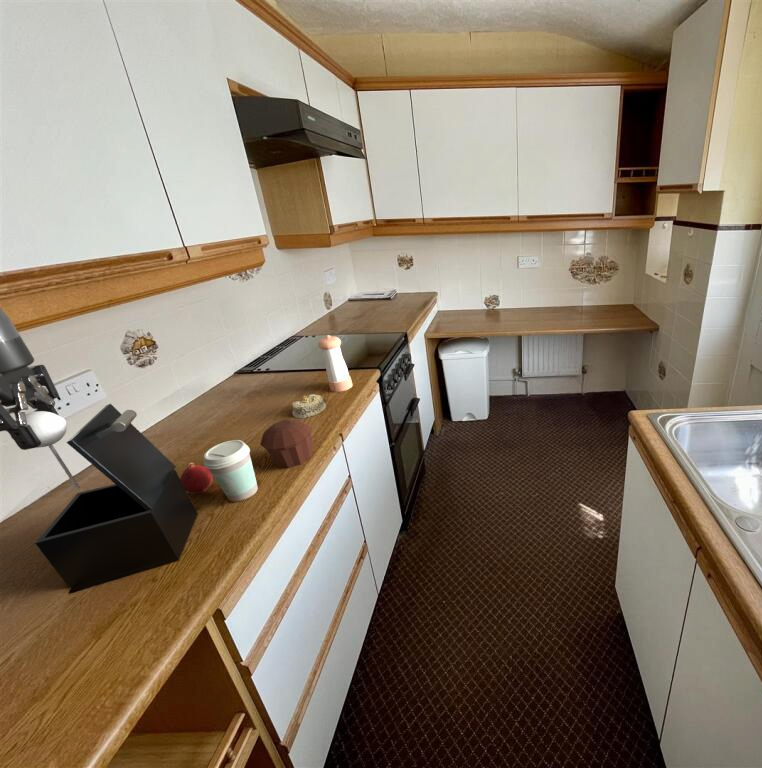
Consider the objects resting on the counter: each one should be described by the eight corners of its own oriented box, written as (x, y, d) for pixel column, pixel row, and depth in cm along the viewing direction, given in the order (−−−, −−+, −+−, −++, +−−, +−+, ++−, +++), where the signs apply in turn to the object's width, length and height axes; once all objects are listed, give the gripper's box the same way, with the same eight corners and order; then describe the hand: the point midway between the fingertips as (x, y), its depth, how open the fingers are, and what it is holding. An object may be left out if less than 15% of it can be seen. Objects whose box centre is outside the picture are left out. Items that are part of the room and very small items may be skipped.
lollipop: (64, 503, 67) (11, 426, 61) (46, 496, 70) (-7, 420, 63) (108, 480, 73) (64, 406, 66) (90, 474, 75) (45, 402, 68)
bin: (72, 592, 71) (34, 543, 66) (107, 538, 82) (77, 492, 77) (178, 560, 76) (151, 512, 71) (197, 513, 87) (175, 469, 82)
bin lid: (65, 442, 62) (101, 426, 63) (106, 405, 74) (135, 392, 75) (147, 511, 71) (177, 496, 72) (172, 468, 82) (197, 456, 83)
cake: (333, 407, 130) (330, 392, 128) (307, 422, 122) (303, 407, 120) (312, 399, 134) (308, 385, 132) (285, 414, 126) (280, 399, 124)
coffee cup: (219, 492, 93) (198, 449, 88) (260, 476, 98) (243, 434, 93) (224, 512, 87) (202, 466, 82) (268, 493, 92) (250, 449, 87)
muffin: (323, 442, 110) (313, 410, 106) (312, 467, 100) (300, 432, 96) (277, 448, 109) (265, 416, 105) (261, 474, 99) (247, 439, 95)
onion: (203, 501, 91) (189, 472, 88) (181, 499, 92) (166, 471, 88) (223, 484, 96) (210, 456, 93) (202, 483, 97) (189, 455, 94)
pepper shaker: (356, 386, 142) (343, 334, 134) (336, 394, 138) (321, 340, 130) (346, 381, 147) (333, 330, 139) (327, 388, 142) (312, 336, 134)
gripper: (-19, 331, 64) (40, 423, 71) (-99, 361, 52) (-18, 467, 59) (43, 323, 67) (94, 412, 74) (-20, 350, 54) (49, 454, 62)
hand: (44, 436), depth 66 cm, fingers closed on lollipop, 6 cm apart
